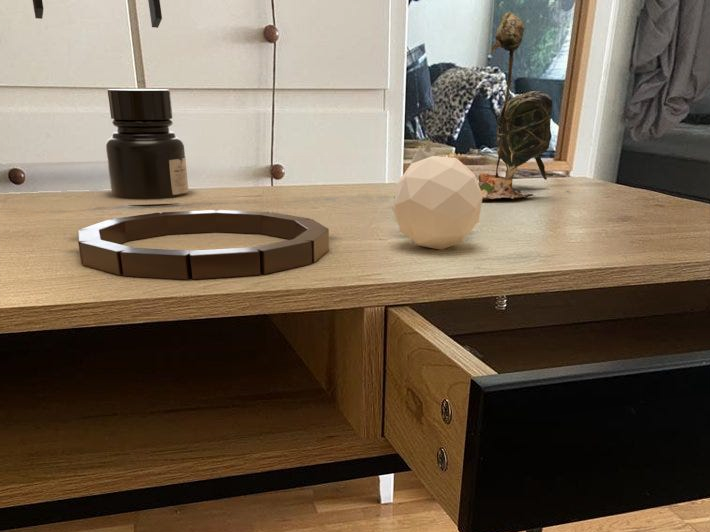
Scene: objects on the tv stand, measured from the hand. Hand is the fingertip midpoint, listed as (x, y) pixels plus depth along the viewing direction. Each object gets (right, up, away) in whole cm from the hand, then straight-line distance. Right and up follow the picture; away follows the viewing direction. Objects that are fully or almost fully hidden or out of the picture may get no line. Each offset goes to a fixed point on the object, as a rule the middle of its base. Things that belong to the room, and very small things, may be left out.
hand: (100, 18), depth 92 cm
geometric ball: (+38, -34, -23) cm, 56 cm away
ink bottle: (+6, -22, 0) cm, 23 cm away
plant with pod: (+50, -20, +5) cm, 54 cm away
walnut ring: (+18, -35, -25) cm, 47 cm away
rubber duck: (+38, -27, -9) cm, 47 cm away
